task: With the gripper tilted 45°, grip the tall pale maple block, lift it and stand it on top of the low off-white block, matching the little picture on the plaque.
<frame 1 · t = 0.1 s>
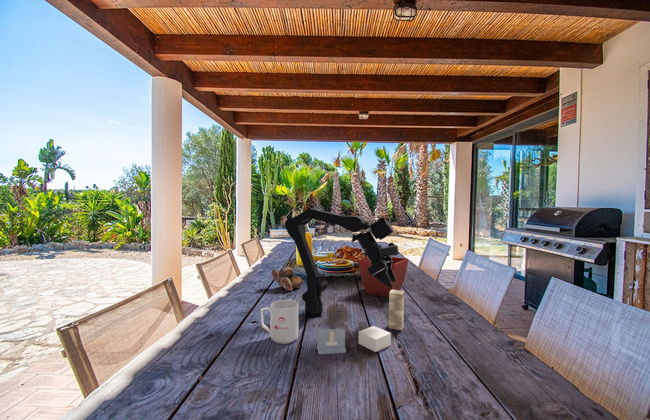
hand: (393, 284, 107), 15 cm above the table, tool tilted 35°, fingers open, 9 cm apart
mug: (279, 339, 96), on the table
white slab: (374, 345, 93), on the table
maple pillar: (396, 326, 107), on the table
brown lumpy cluster: (288, 289, 154), on the table
plant pot: (382, 293, 149), on the table
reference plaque: (331, 350, 89), on the table
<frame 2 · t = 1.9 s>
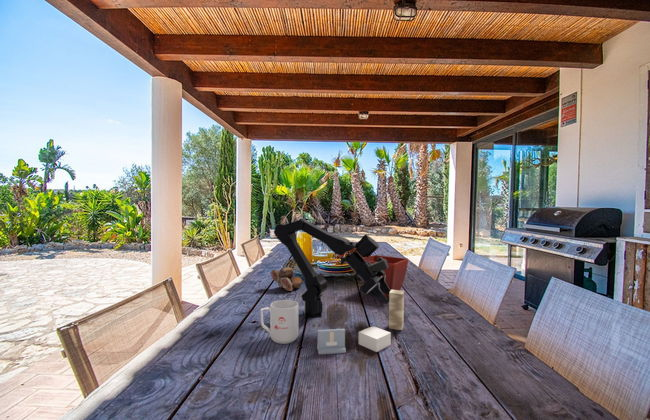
hand: (389, 298, 107), 10 cm above the table, tool tilted 45°, fingers open, 9 cm apart
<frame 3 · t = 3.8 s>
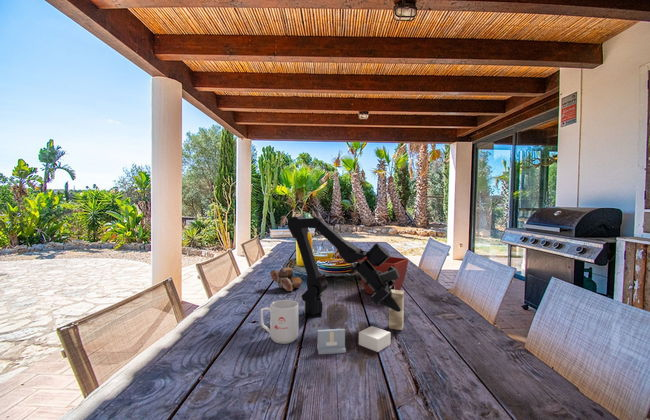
hand: (400, 308, 106), 7 cm above the table, tool tilted 45°, fingers closed on maple pillar, 4 cm apart
maple pillar: (396, 326, 107), on the table, touching gripper
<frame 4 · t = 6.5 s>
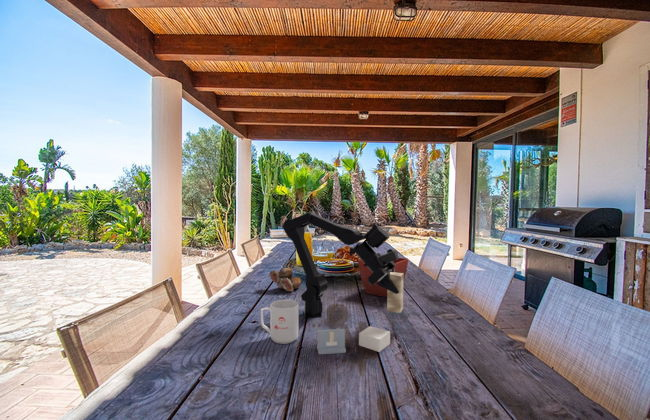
hand: (399, 291, 103), 13 cm above the table, tool tilted 45°, fingers closed on maple pillar, 4 cm apart
maple pillar: (395, 309, 104), point 7 cm above the table, touching gripper
when the fingers open (12 cm above the table, at t = 8.9 s): maple pillar drops 2 cm, resting on white slab.
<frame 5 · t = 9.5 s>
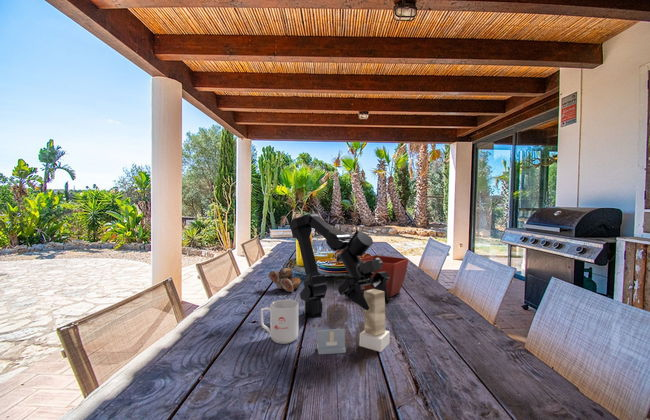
hand: (378, 306, 92), 12 cm above the table, tool tilted 45°, fingers open, 9 cm apart
white slab: (374, 345, 93), on the table, touching maple pillar
maple pillar: (375, 331, 93), point 4 cm above the table, touching white slab
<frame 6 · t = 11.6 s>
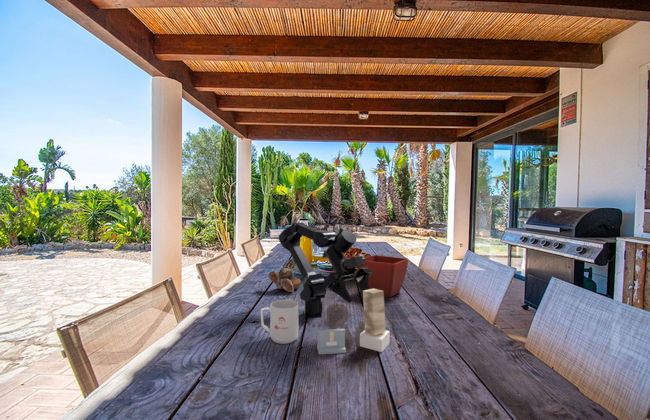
hand: (360, 299, 98), 12 cm above the table, tool tilted 45°, fingers open, 9 cm apart
white slab: (374, 345, 93), on the table
maple pillar: (375, 331, 93), point 4 cm above the table
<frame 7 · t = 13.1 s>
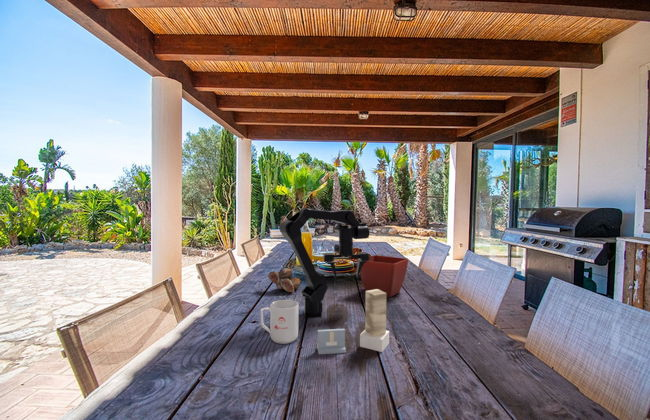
hand: (346, 277, 125), 13 cm above the table, tool pointing down, fingers open, 9 cm apart
white slab: (374, 345, 93), on the table, touching maple pillar
maple pillar: (375, 331, 93), point 4 cm above the table, touching white slab
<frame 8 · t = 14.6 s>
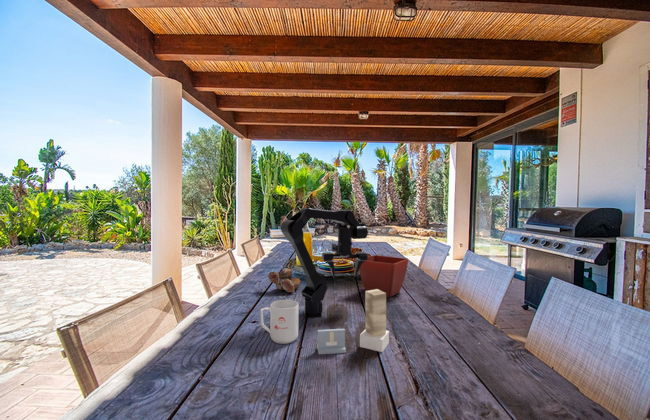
hand: (344, 276, 126), 13 cm above the table, tool pointing down, fingers open, 9 cm apart
white slab: (374, 345, 93), on the table
maple pillar: (375, 332, 93), point 4 cm above the table
at the end: maple pillar 0.4 cm off-centre on the white slab, point 4.1 cm above the white slab's base; maple pillar tilted 2°; the gripper is holding nothing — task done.
